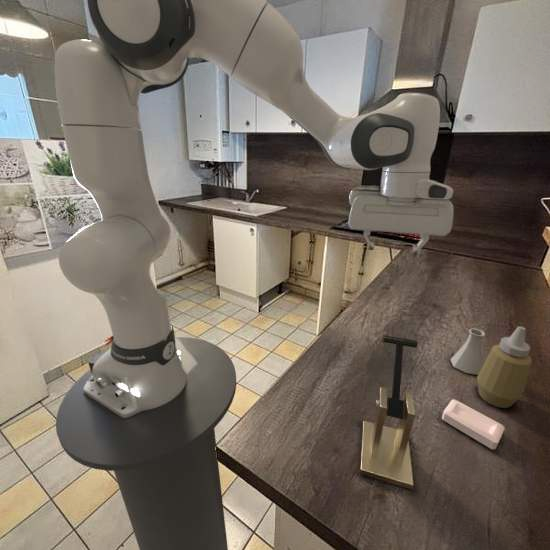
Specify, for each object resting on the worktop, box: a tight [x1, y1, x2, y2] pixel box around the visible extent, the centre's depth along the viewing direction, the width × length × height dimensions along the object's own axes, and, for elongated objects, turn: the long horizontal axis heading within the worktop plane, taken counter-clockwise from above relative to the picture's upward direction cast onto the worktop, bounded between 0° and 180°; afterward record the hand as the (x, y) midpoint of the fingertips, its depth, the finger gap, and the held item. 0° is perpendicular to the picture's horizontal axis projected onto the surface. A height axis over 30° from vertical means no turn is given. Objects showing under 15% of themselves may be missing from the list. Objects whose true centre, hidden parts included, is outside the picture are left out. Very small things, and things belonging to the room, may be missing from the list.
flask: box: [449, 327, 486, 376], centre depth 71 cm, size 7×7×10 cm
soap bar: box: [441, 398, 506, 450], centre depth 56 cm, size 5×9×2 cm, turn 42°
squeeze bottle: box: [476, 325, 533, 409], centre depth 60 cm, size 8×8×18 cm
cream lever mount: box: [359, 386, 417, 490], centre depth 49 cm, size 10×8×13 cm
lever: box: [382, 335, 418, 420], centre depth 49 cm, size 13×6×2 cm
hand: (392, 251), depth 64 cm, fingers open, 8 cm apart
